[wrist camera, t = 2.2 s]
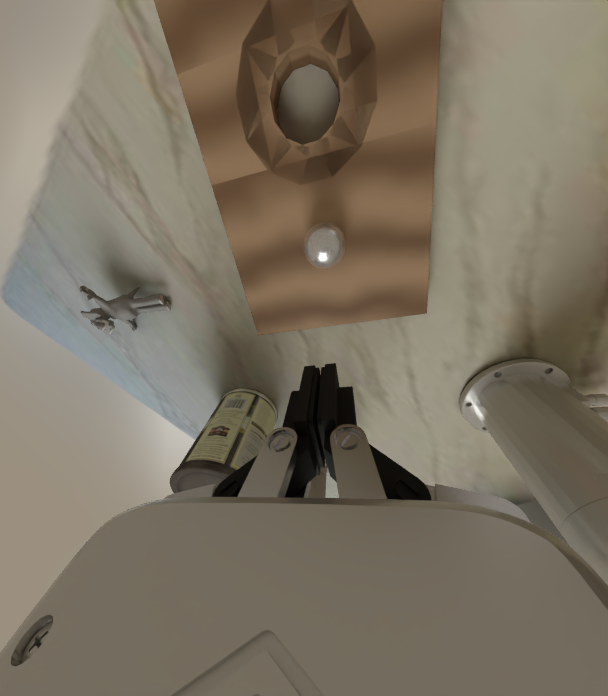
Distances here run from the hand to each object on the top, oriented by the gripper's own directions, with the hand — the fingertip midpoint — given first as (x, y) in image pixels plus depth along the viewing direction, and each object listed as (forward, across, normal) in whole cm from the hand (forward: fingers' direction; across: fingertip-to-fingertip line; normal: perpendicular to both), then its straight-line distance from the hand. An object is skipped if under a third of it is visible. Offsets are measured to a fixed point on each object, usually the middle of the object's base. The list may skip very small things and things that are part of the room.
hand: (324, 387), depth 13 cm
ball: (+14, 0, -6) cm, 15 cm away
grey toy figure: (+19, +26, -3) cm, 32 cm away
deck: (+18, 0, -11) cm, 21 cm away
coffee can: (+19, +17, +18) cm, 31 cm away
